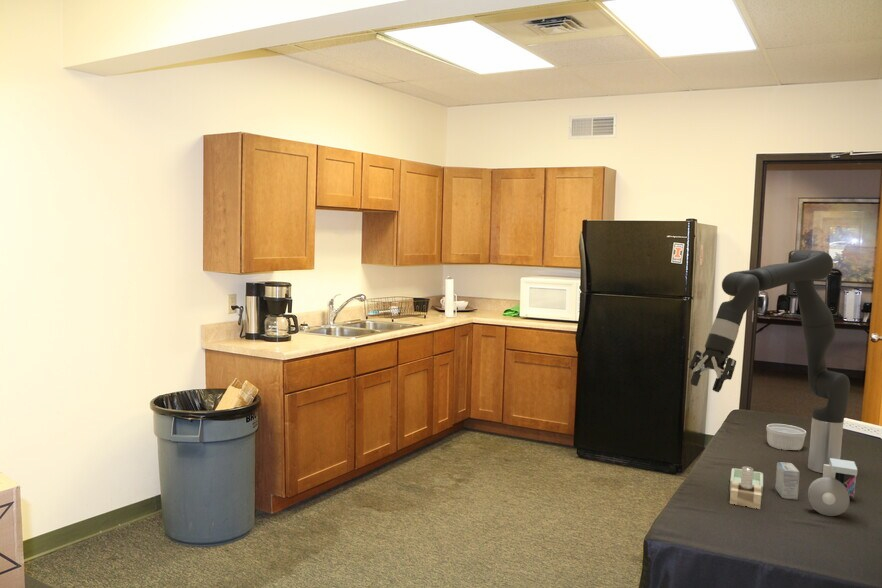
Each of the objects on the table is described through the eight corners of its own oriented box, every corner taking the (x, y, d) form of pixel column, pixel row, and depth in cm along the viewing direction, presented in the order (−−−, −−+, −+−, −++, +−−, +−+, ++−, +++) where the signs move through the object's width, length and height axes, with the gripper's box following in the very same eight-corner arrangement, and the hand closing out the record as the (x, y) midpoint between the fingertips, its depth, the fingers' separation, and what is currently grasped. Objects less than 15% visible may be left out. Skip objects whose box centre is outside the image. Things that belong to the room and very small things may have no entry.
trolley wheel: (805, 504, 205) (810, 455, 204) (849, 511, 201) (854, 461, 199) (807, 513, 198) (811, 462, 196) (852, 522, 193) (857, 469, 192)
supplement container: (831, 499, 210) (834, 465, 209) (825, 491, 216) (828, 458, 215) (856, 503, 208) (860, 468, 207) (850, 495, 214) (853, 461, 213)
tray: (731, 477, 226) (732, 467, 226) (762, 482, 222) (763, 472, 222) (729, 491, 213) (730, 481, 213) (762, 496, 210) (763, 486, 209)
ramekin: (806, 446, 264) (808, 427, 263) (802, 454, 253) (804, 435, 252) (767, 439, 271) (769, 421, 270) (762, 447, 260) (764, 429, 259)
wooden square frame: (730, 494, 210) (731, 481, 210) (760, 499, 207) (761, 486, 207) (729, 503, 203) (730, 490, 203) (760, 509, 200) (761, 495, 200)
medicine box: (797, 500, 208) (800, 471, 207) (781, 498, 209) (783, 469, 208) (790, 490, 216) (792, 462, 215) (774, 489, 217) (776, 461, 216)
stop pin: (739, 499, 207) (742, 465, 206) (750, 501, 206) (753, 467, 205) (739, 502, 204) (742, 468, 204) (750, 504, 203) (753, 470, 202)
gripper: (750, 344, 205) (731, 397, 204) (712, 337, 218) (694, 386, 217) (733, 336, 202) (714, 389, 201) (695, 329, 215) (677, 379, 214)
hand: (704, 388), depth 209 cm, fingers open, 8 cm apart
